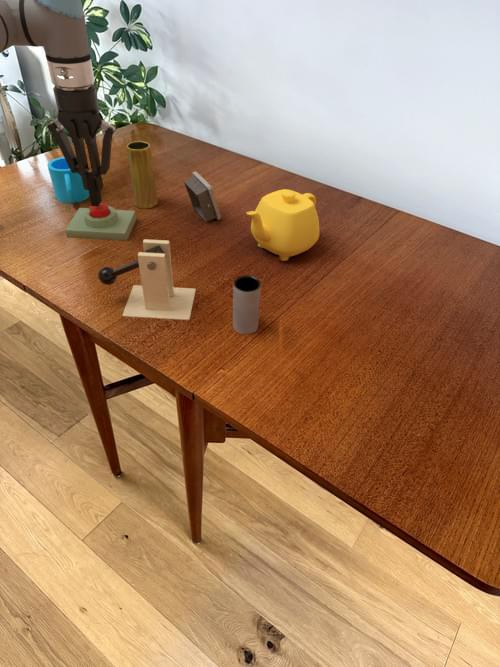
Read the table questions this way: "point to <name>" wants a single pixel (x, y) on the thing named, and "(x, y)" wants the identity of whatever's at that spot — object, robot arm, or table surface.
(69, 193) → the mug
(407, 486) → the table surface
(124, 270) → the lever
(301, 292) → the table surface
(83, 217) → the button base
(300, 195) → the teapot
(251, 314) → the gray hollow cylinder
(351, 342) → the table surface
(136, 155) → the vase
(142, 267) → the bracket
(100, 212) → the button
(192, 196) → the electrical switch
